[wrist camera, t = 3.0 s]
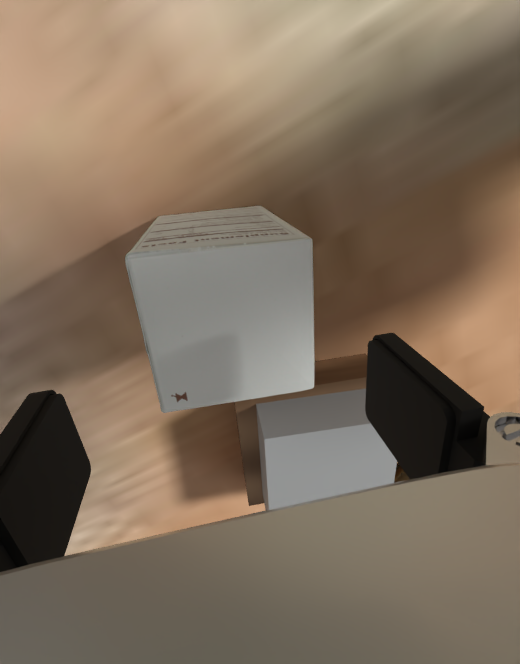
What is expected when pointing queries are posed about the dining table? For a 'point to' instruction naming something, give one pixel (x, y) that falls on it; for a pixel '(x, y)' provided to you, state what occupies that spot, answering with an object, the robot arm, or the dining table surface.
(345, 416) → the grey top block
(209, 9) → the dining table surface
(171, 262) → the supplement box
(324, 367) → the walnut base block
